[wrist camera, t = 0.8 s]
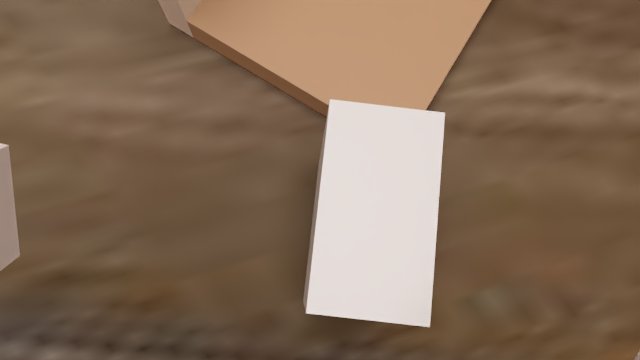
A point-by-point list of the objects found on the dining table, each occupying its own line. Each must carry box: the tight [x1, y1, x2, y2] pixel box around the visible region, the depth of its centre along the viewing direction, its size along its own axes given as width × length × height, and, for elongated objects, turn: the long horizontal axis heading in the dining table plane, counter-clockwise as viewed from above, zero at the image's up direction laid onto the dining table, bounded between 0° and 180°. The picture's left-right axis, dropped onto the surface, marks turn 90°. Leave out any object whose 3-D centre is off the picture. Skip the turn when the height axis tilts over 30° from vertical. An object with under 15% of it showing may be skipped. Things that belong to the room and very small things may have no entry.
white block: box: [303, 99, 445, 327], centre depth 29 cm, size 5×9×13 cm, turn 174°
